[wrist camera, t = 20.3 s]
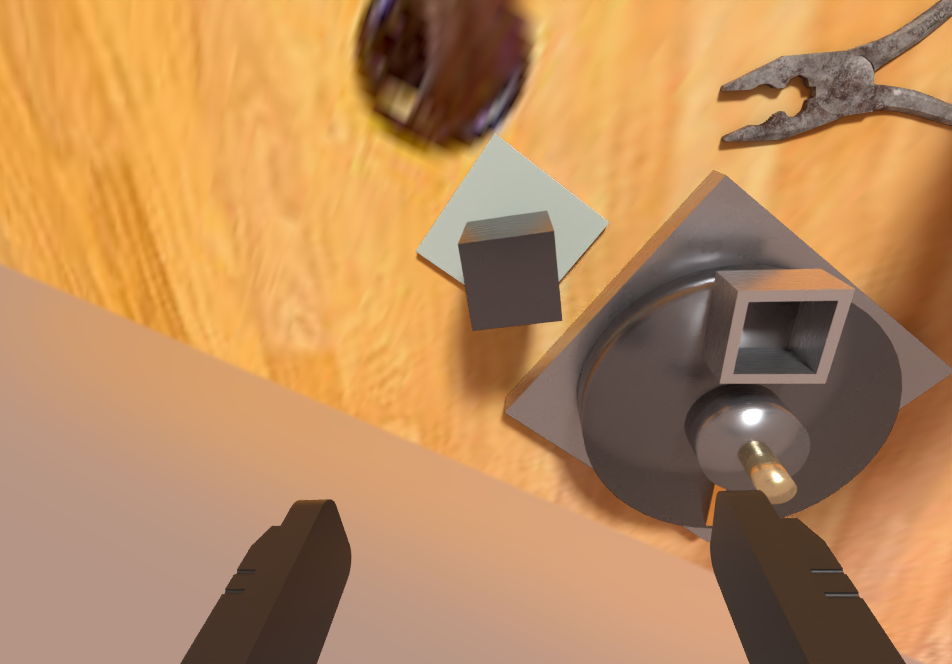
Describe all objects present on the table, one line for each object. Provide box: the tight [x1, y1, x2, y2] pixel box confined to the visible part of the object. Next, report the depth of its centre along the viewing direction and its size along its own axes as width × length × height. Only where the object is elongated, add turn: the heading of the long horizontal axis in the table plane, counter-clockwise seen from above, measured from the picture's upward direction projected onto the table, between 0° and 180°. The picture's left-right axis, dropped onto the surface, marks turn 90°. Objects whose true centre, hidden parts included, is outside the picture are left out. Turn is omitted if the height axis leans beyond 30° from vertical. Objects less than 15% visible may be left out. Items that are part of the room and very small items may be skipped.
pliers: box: [720, 0, 952, 142], centre depth 26 cm, size 10×1×20 cm
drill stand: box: [505, 170, 952, 542], centre depth 35 cm, size 21×21×2 cm
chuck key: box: [458, 211, 562, 331], centre depth 27 cm, size 4×4×9 cm
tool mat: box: [416, 134, 609, 285], centre depth 32 cm, size 9×9×1 cm
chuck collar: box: [578, 265, 902, 528], centre depth 29 cm, size 20×19×9 cm
